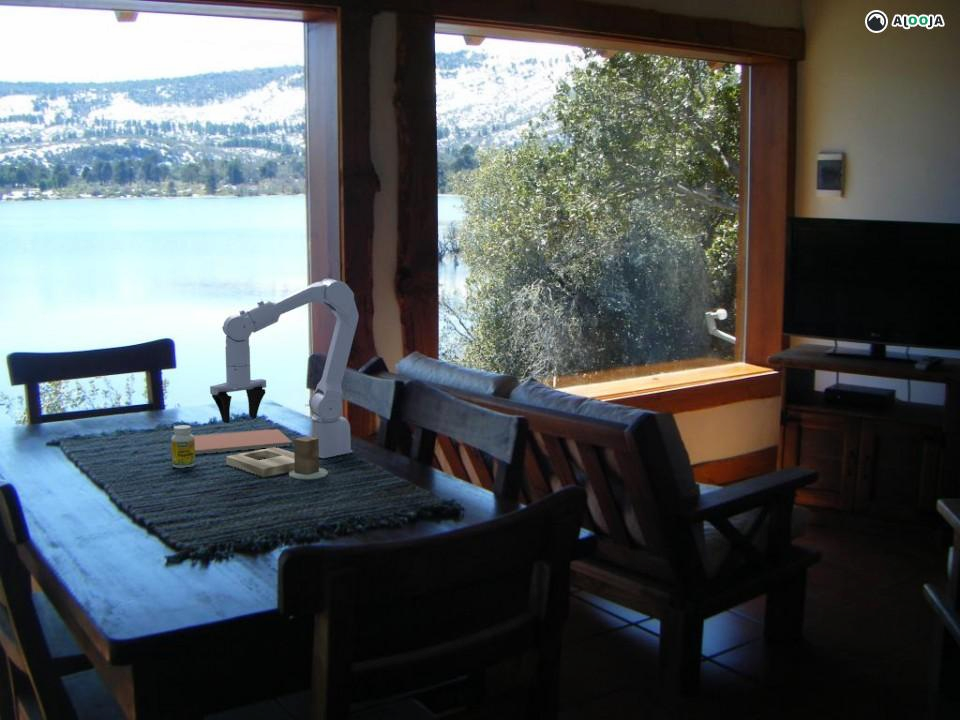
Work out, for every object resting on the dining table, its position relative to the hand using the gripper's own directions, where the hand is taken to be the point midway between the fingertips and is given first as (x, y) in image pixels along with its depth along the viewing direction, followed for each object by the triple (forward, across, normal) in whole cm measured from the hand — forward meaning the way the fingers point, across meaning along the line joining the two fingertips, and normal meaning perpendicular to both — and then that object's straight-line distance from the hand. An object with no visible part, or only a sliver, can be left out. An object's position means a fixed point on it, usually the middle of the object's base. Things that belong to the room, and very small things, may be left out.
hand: (239, 420), depth 255 cm
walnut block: (+10, -5, +20) cm, 23 cm away
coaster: (+10, -5, +21) cm, 24 cm away
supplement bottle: (+11, +12, -6) cm, 17 cm away
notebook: (+11, -9, -17) cm, 22 cm away
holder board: (+10, -3, +8) cm, 13 cm away
